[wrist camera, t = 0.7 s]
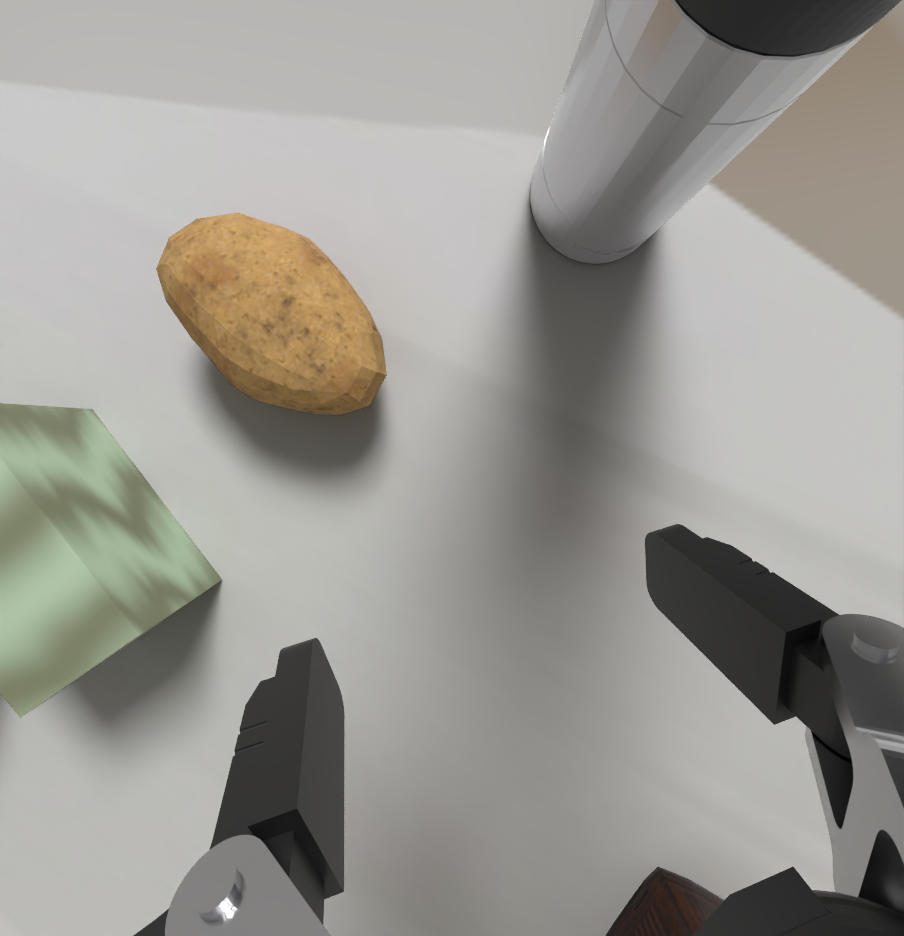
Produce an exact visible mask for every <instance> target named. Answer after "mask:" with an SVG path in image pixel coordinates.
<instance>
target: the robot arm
mask: <svg viewBox="0 0 904 936" xmlns="http://www.w3.org/2000/svg"><path fill="white" fill-rule="evenodd" d="M900 1H901V0H594V3H593V6H592V9H591V11H590V14H589V17H588V20H587V23H586V26H585V28H584V31H583V34H582V37H581V40H580V43H579V45H578V48H577V51H576V54H575V57H574V60H573V62H572V65H571V68H570V71H569V74H568V77H567V80H566V82H565V85H564V88H563V91H562V94H561V96H560V99H559V102H558V105H557V108H556V111H555V114H554V116H553V119H552V122H551V125H550V128H549V130H548V132H547V135H546V138H545V141H544V144H543V147H542V150H541V152H540V155H539V158H538V161H537V164H536V167H535V170H534V173H533V178H532V182H531V191H530V202H531V208H532V214H533V217H534V219H535V222H536V224H537V227H538V229H539V230H540V232H541V233H542V235H543V237H544V238H545V240H546V241H547V242H548V243H549V244H550V245H551V246H552V247H553V248H554V249H555V250H557V251H558V252H560V253H561V254H563V255H565V256H566V257H568V258H571V259H573V260H576V261H579V262H583V263H591V264H599V263H609V262H612V261H615V260H618V259H621V258H623V257H625V256H627V255H628V254H630V253H632V252H634V251H635V250H636V249H637V248H638V247H639V246H640V245H641V244H642V243H644V242H645V241H646V240H647V239H648V238H649V237H650V236H651V235H652V234H653V233H654V232H655V231H657V230H658V229H659V228H660V227H661V226H662V225H663V224H664V223H665V222H666V221H668V220H669V219H670V218H671V217H672V216H673V215H674V214H675V213H676V212H677V211H678V210H679V209H680V208H681V207H683V206H684V205H685V204H686V203H687V202H688V201H689V200H690V199H691V198H692V197H693V196H694V195H695V194H696V193H697V192H698V191H700V190H701V189H702V188H703V187H704V186H705V185H706V184H707V183H708V182H709V181H710V180H711V179H712V178H713V177H714V176H716V175H717V173H719V172H720V171H721V170H722V169H723V168H724V167H725V166H726V165H727V164H728V163H729V162H730V161H731V160H733V159H734V158H735V157H736V156H737V155H738V154H739V153H740V152H741V151H742V150H743V149H744V148H745V147H746V146H747V145H748V144H750V143H751V142H752V141H753V140H754V139H755V138H756V137H757V136H758V135H759V134H760V133H761V132H762V131H763V130H764V129H765V128H766V127H768V126H769V125H770V124H771V123H772V122H773V121H774V120H775V119H776V118H777V117H778V116H779V115H780V114H781V113H783V112H784V110H786V109H787V108H788V107H789V106H790V105H791V104H792V103H793V102H794V101H795V100H796V99H797V98H798V97H800V96H801V95H802V94H803V92H804V91H805V90H807V88H809V87H810V86H811V85H812V84H813V83H814V82H815V81H816V80H817V79H818V78H819V77H820V76H821V75H822V74H823V73H825V72H826V71H827V70H828V69H829V68H830V67H831V66H832V65H833V64H834V63H835V62H836V61H837V60H838V59H839V58H841V57H842V56H843V55H844V54H845V53H846V52H847V51H848V50H849V49H850V48H851V47H852V46H853V45H854V44H855V43H856V42H858V41H859V40H860V39H861V38H862V37H863V36H864V35H865V34H866V33H867V32H868V31H869V30H870V29H871V28H872V27H873V26H875V25H876V24H877V23H878V22H879V20H880V19H881V18H882V17H884V16H885V15H886V14H887V13H888V12H889V11H890V10H891V9H892V8H893V7H895V6H896V5H897V4H898V3H899V2H900ZM645 552H646V579H647V588H648V592H649V594H650V597H651V599H652V601H653V602H654V604H655V605H656V607H657V608H658V609H659V610H660V611H661V612H662V613H663V614H664V615H665V616H666V617H667V618H668V619H669V620H670V621H671V622H672V623H673V624H674V625H675V626H676V627H677V628H678V629H679V630H680V631H681V632H682V633H683V634H684V635H685V636H686V637H687V638H688V639H689V640H690V641H691V642H692V643H693V644H694V645H695V646H696V647H697V648H698V649H699V650H700V651H701V652H702V653H703V654H704V655H705V656H706V657H707V658H708V659H709V660H710V661H711V662H712V663H713V664H714V665H715V666H716V667H717V668H718V669H719V670H720V671H721V672H722V673H723V674H724V675H725V676H726V677H727V678H728V679H729V680H730V681H731V682H732V683H733V684H734V685H735V686H736V687H737V688H738V689H739V690H740V691H741V692H742V693H743V694H744V695H745V696H746V697H747V698H748V699H749V700H750V701H751V702H752V703H753V704H754V705H755V706H756V707H757V708H758V709H759V710H760V711H761V712H762V713H763V714H764V715H765V716H766V717H767V718H768V719H769V720H770V721H771V722H772V723H773V724H774V725H775V724H777V723H780V722H782V721H785V720H788V719H790V718H793V717H795V716H796V717H797V718H798V719H799V720H801V721H802V722H803V723H804V724H805V725H806V730H805V738H806V743H807V747H808V751H809V755H810V759H811V763H812V767H813V771H814V775H815V779H816V783H817V787H818V791H819V795H820V799H821V803H822V807H823V811H824V815H825V819H826V823H827V827H828V831H829V835H830V840H831V846H832V854H833V878H834V887H835V892H828V891H819V890H811V889H810V887H809V886H808V885H807V883H806V882H805V881H804V880H803V878H802V877H801V876H800V875H799V873H798V872H797V871H796V870H795V868H794V867H791V868H789V869H787V870H785V871H782V872H780V873H778V874H776V875H773V876H771V877H769V878H767V879H764V880H762V881H760V882H758V883H755V884H753V885H751V886H749V887H746V888H744V889H742V890H740V891H737V892H735V893H733V894H730V895H729V896H728V897H727V898H726V900H725V901H724V902H723V903H722V904H721V905H720V906H719V907H718V908H717V909H716V910H715V911H714V912H713V914H712V915H711V916H710V917H709V918H708V919H707V920H706V921H705V922H704V923H703V924H702V925H701V926H700V928H699V929H698V930H697V931H696V932H695V933H694V934H693V935H692V936H904V628H903V627H901V626H899V625H897V624H894V623H892V622H889V621H886V620H883V619H880V618H876V617H872V616H867V615H859V614H844V615H839V614H837V613H836V612H834V611H832V610H831V609H829V608H828V607H826V606H825V605H823V604H822V603H820V602H818V601H817V600H815V599H814V598H812V597H811V596H809V595H808V594H806V593H804V592H803V591H801V590H800V589H798V588H797V587H795V586H794V585H792V584H790V583H789V582H787V581H786V580H784V579H783V578H781V577H780V576H778V575H776V574H775V573H773V572H772V573H770V572H769V569H767V568H766V567H764V566H762V565H761V564H759V563H758V562H756V561H755V562H753V561H752V558H750V557H748V556H747V555H745V554H744V553H742V552H741V551H739V550H738V549H736V548H734V547H733V546H731V545H728V544H725V543H722V542H719V541H716V540H713V539H711V538H708V537H706V538H703V539H702V538H701V537H699V536H698V535H696V534H695V533H693V532H692V531H690V530H689V529H687V528H686V527H684V526H683V525H680V524H676V525H672V526H669V527H666V528H663V529H660V530H657V531H654V532H650V533H648V534H647V535H646V538H645ZM342 892H344V706H343V700H342V696H341V692H340V688H339V686H338V683H337V681H336V678H335V676H334V674H333V671H332V669H331V667H330V664H329V662H328V660H327V657H326V655H325V653H324V650H323V648H322V646H321V643H320V642H319V640H318V639H317V638H314V639H311V640H308V641H305V642H301V643H298V644H295V645H292V646H289V647H286V648H283V649H282V650H281V651H280V654H279V659H278V664H277V670H276V675H275V677H273V678H270V679H267V680H264V681H261V682H260V683H259V685H258V686H257V688H256V690H255V691H254V693H253V694H252V696H251V698H250V699H249V701H248V702H247V704H246V706H245V710H244V714H243V718H242V722H241V726H240V734H239V735H238V738H237V743H236V747H235V756H233V759H232V763H231V767H230V771H229V775H228V779H227V783H226V787H225V792H224V796H223V800H222V804H221V808H220V812H219V816H218V820H217V824H216V828H215V832H214V836H213V840H212V844H211V847H210V850H209V851H208V852H207V853H206V854H205V855H203V856H202V857H201V858H200V859H199V860H198V861H197V863H196V864H195V865H194V866H193V867H192V868H191V870H190V871H189V872H188V874H187V875H186V876H185V878H184V879H183V881H182V883H181V884H180V886H179V887H178V889H177V891H176V893H175V895H174V897H173V900H172V902H171V905H170V908H169V909H168V910H167V911H165V912H164V913H163V914H162V915H161V916H159V917H158V918H157V919H156V920H154V921H153V922H152V923H150V924H149V925H147V926H146V927H145V928H143V929H142V930H141V931H139V932H138V933H136V934H135V935H134V936H330V934H329V933H328V931H327V930H326V929H325V927H324V926H323V914H324V899H326V898H329V897H331V896H334V895H336V894H339V893H342Z"/></svg>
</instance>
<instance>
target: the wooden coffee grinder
mask: <svg viewBox="0 0 904 936" xmlns="http://www.w3.org/2000/svg"><path fill="white" fill-rule="evenodd" d="M723 902H724V900H723V899H721V898H719V897H718V896H716V895H714V894H713V893H711V892H709V891H708V890H706V889H704V888H703V887H701V886H699V885H698V884H696V883H694V882H692V881H691V880H689V879H687V878H684V877H682V876H679V875H677V874H675V873H672V872H670V871H667V870H665V869H662V868H660V867H657V868H656V869H655V870H654V871H653V872H652V873H651V874H650V875H649V876H648V877H647V878H646V879H645V880H644V881H643V883H642V884H641V886H640V887H639V888H638V890H637V891H636V892H635V894H634V895H633V897H632V898H631V899H630V901H629V902H628V904H627V905H626V906H625V908H624V909H623V911H622V912H621V914H620V915H619V916H618V918H617V919H616V921H615V922H614V924H613V925H612V927H611V928H610V930H609V932H608V933H607V935H606V936H692V935H693V934H694V933H695V932H696V931H697V930H698V929H699V928H700V926H701V925H702V924H703V923H704V922H705V921H706V920H707V919H708V918H709V917H710V916H711V915H712V914H713V912H714V911H715V910H716V909H717V908H718V907H719V906H720V905H721V904H722V903H723Z"/></svg>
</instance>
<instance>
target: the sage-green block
mask: <svg viewBox="0 0 904 936" xmlns="http://www.w3.org/2000/svg"><path fill="white" fill-rule="evenodd" d="M221 580H222V579H221V578H220V576H219V575H218V574H217V572H216V571H215V570H214V568H213V567H212V566H211V564H210V563H209V562H208V560H207V559H206V558H205V557H204V555H203V554H202V553H201V551H200V550H199V549H198V547H197V546H196V545H195V543H194V542H193V541H192V539H191V538H190V537H189V536H188V534H187V533H186V532H185V530H184V529H183V528H182V526H181V525H180V524H179V522H178V521H177V520H176V518H175V517H174V516H173V514H172V513H171V512H170V511H169V509H168V508H167V507H166V505H165V504H164V503H163V501H162V500H161V499H160V497H159V496H158V495H157V493H156V492H155V491H154V490H153V488H152V487H151V486H150V484H149V483H148V482H147V480H146V479H145V478H144V476H143V475H142V474H141V472H140V471H139V470H138V468H137V467H136V466H135V465H134V463H133V462H132V461H131V459H130V458H129V457H128V455H127V454H126V453H125V451H124V450H123V449H122V447H121V446H120V445H119V444H118V442H117V441H116V440H115V438H114V437H113V436H112V434H111V433H110V432H109V430H108V429H107V428H106V426H105V425H104V424H103V422H102V421H101V420H100V419H99V417H98V416H97V415H96V413H95V412H94V411H93V409H79V408H64V407H48V406H32V405H17V404H1V403H0V694H1V695H2V696H3V698H4V699H5V700H6V701H7V702H8V704H9V705H10V706H11V707H12V708H13V710H14V711H15V712H16V713H17V715H18V716H19V717H20V718H21V717H22V716H24V715H25V714H27V713H28V712H30V711H31V710H33V709H34V708H36V707H37V706H39V705H40V704H42V703H43V702H45V701H46V700H48V699H49V698H50V697H52V696H53V695H55V694H56V693H58V692H59V691H61V690H62V689H64V688H65V687H67V686H68V685H70V684H71V683H73V682H74V681H76V680H77V679H79V678H80V677H81V676H83V675H84V674H86V673H87V672H89V671H90V670H92V669H93V668H95V667H96V666H98V665H99V664H101V663H102V662H104V661H105V660H107V659H108V658H110V657H111V656H113V655H114V654H115V653H117V652H118V651H120V650H121V649H123V648H124V647H126V646H127V645H129V644H130V643H132V642H133V641H135V640H136V639H138V638H139V637H140V636H142V635H143V634H145V633H146V632H148V631H149V630H151V629H152V628H153V627H155V626H156V625H158V624H159V623H161V622H162V621H164V620H165V619H166V618H168V617H169V616H171V615H172V614H174V613H175V612H176V611H178V610H179V609H181V608H182V607H184V606H185V605H187V604H188V603H189V602H191V601H192V600H194V599H195V598H197V597H198V596H200V595H201V594H202V593H204V592H205V591H207V590H208V589H210V588H211V587H213V586H214V585H215V584H217V583H218V582H220V581H221Z"/></svg>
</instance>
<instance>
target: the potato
mask: <svg viewBox="0 0 904 936" xmlns="http://www.w3.org/2000/svg"><path fill="white" fill-rule="evenodd" d="M156 269H157V272H158V276H159V279H160V282H161V286H162V289H163V292H164V296H165V299H166V302H167V303H168V305H169V306H170V308H171V309H172V310H173V312H174V313H175V315H176V316H177V318H178V319H179V321H180V322H181V323H182V325H183V326H184V328H185V329H186V331H187V332H188V334H189V335H190V337H191V338H192V339H193V340H194V341H195V342H196V344H197V345H198V346H199V347H200V348H201V349H202V350H203V352H204V353H205V354H206V355H207V356H208V357H209V359H210V360H211V361H212V362H213V363H214V364H215V366H216V367H217V368H218V369H219V371H220V372H221V373H222V374H223V376H224V377H225V378H226V379H227V381H228V382H229V383H230V384H231V385H232V386H234V387H235V388H237V389H238V390H240V391H242V392H243V393H245V394H246V395H248V396H249V397H251V398H253V399H255V400H257V401H259V402H263V403H267V404H272V405H276V406H280V407H284V408H289V409H293V410H298V411H302V412H307V413H311V414H327V415H342V414H345V413H348V412H351V411H355V410H358V409H361V408H364V407H367V406H369V405H370V403H371V402H372V400H373V398H374V396H375V395H376V393H377V391H378V389H379V388H380V386H381V384H382V382H383V381H384V379H385V377H386V375H387V374H386V366H385V358H384V350H383V342H382V338H381V335H380V333H379V331H378V329H377V327H376V325H375V323H374V321H373V318H372V316H371V314H370V312H369V311H368V309H367V307H366V306H365V304H364V303H363V301H362V300H361V299H360V297H359V296H358V294H357V293H356V292H355V290H354V289H353V287H352V286H351V285H350V283H349V282H348V280H347V279H346V278H345V277H344V275H343V274H342V273H341V272H340V271H339V270H338V268H337V267H336V266H335V265H334V264H333V262H332V261H331V260H330V259H329V258H328V257H327V256H326V255H325V254H324V253H323V252H322V251H321V250H320V249H319V248H318V247H317V246H316V245H315V244H314V243H313V242H312V241H311V240H310V239H309V238H306V237H304V236H302V235H299V234H297V233H295V232H293V231H290V230H288V229H286V228H283V227H281V226H277V225H273V224H269V223H266V222H263V221H260V220H257V219H255V218H252V217H249V216H246V215H243V214H240V213H234V214H226V215H220V216H213V217H207V218H200V219H196V220H194V221H193V222H191V223H190V224H189V225H187V226H186V227H184V228H183V229H181V230H180V231H178V232H177V233H175V234H174V235H172V236H171V237H170V238H169V239H168V242H167V244H166V247H165V249H164V251H163V254H162V256H161V259H160V261H159V264H158V266H157V268H156Z"/></svg>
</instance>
